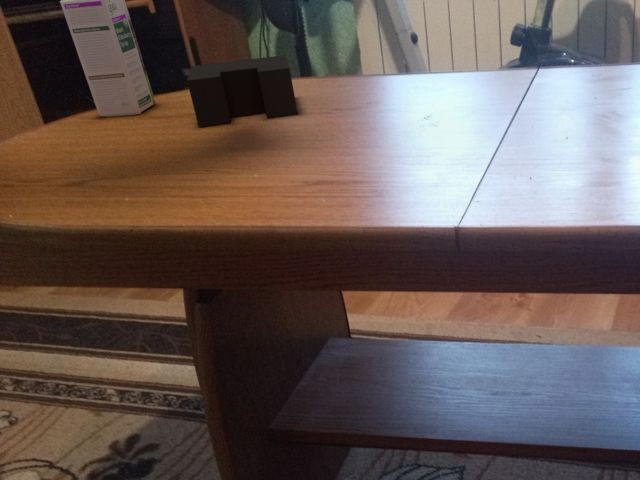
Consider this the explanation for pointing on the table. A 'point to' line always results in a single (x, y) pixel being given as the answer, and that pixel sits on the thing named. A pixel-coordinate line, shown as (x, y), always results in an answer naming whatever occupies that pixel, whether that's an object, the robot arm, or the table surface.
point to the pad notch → (241, 89)
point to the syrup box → (109, 55)
